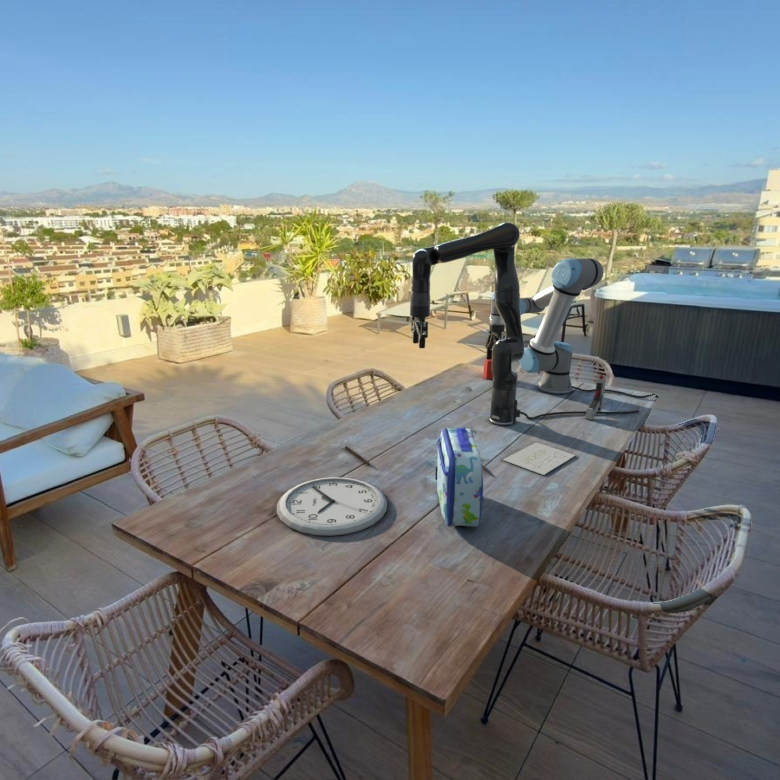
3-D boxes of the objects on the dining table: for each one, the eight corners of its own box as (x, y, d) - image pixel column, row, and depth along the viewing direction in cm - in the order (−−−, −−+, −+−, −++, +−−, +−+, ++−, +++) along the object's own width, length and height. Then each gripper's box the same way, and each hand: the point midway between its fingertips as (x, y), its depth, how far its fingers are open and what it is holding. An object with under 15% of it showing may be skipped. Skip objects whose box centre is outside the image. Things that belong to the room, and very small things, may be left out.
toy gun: (589, 383, 206) (600, 373, 217) (585, 421, 211) (596, 408, 223) (595, 384, 204) (606, 374, 215) (590, 422, 210) (602, 410, 221)
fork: (483, 474, 162) (483, 469, 161) (463, 454, 176) (463, 448, 176) (491, 474, 162) (491, 468, 162) (470, 453, 177) (470, 447, 176)
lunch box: (433, 484, 155) (436, 418, 148) (469, 485, 155) (474, 419, 148) (440, 534, 130) (444, 457, 124) (483, 535, 130) (489, 458, 124)
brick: (483, 377, 268) (484, 359, 266) (499, 376, 270) (501, 358, 268) (486, 379, 265) (487, 361, 262) (503, 378, 267) (504, 360, 264)
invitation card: (535, 442, 186) (575, 454, 176) (535, 442, 187) (575, 455, 176) (502, 459, 172) (543, 474, 162) (502, 460, 172) (543, 475, 162)
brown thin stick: (344, 448, 179) (344, 445, 179) (346, 448, 179) (346, 445, 179) (367, 464, 167) (367, 462, 167) (368, 464, 167) (368, 461, 167)
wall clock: (392, 527, 129) (268, 531, 127) (391, 533, 130) (269, 537, 127) (383, 473, 158) (282, 475, 155) (383, 478, 158) (282, 480, 156)
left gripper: (405, 301, 204) (404, 342, 209) (415, 306, 191) (414, 350, 196) (424, 301, 206) (422, 341, 211) (435, 306, 193) (433, 349, 197)
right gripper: (480, 319, 270) (477, 359, 276) (501, 328, 247) (498, 371, 253) (493, 319, 272) (491, 359, 278) (515, 327, 248) (512, 370, 255)
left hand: (418, 345), depth 203 cm, fingers open, 8 cm apart
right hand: (494, 365), depth 265 cm, fingers open, 13 cm apart
